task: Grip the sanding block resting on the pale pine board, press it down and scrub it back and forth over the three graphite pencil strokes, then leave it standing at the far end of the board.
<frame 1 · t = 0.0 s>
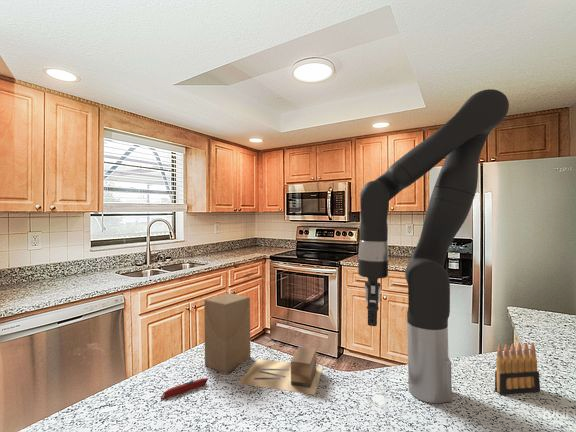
hand: (372, 319, 78), 17 cm above the worktop, tool pointing down, fingers open, 8 cm apart
pine board: (282, 380, 81), on the worktop
ammunition clip: (517, 392, 74), on the worktop
sanding block: (304, 377, 79), point 1 cm above the worktop, touching pine board
wooden block: (227, 364, 91), on the worktop
utility knife: (185, 392, 76), on the worktop
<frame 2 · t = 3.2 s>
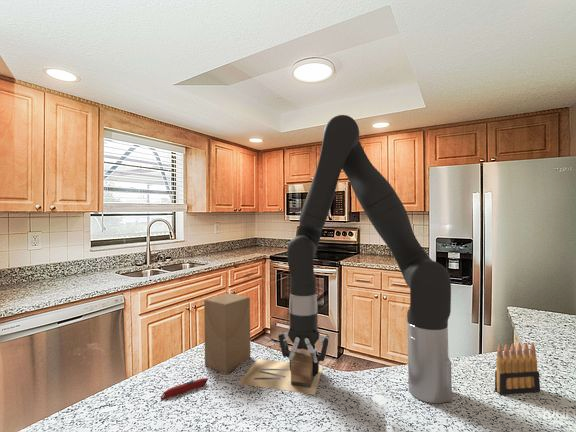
hand: (304, 373, 79), 3 cm above the worktop, tool pointing down, fingers closed on sanding block, 5 cm apart
sanding block: (304, 377, 79), point 2 cm above the worktop, touching gripper, pine board
everything else where it was.
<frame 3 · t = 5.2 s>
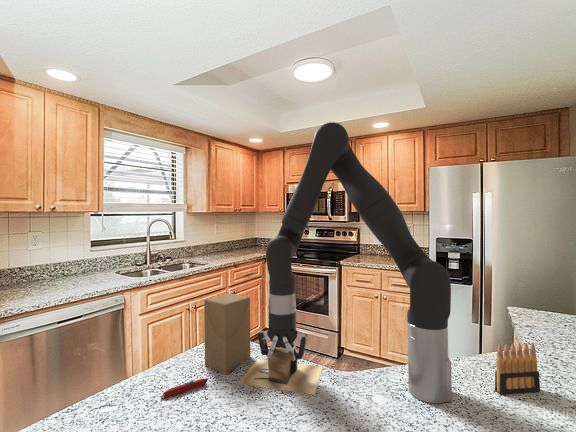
hand: (282, 371, 81), 2 cm above the worktop, tool pointing down, fingers closed on sanding block, 5 cm apart
sanding block: (282, 373, 81), point 2 cm above the worktop, touching gripper
everything else where it was.
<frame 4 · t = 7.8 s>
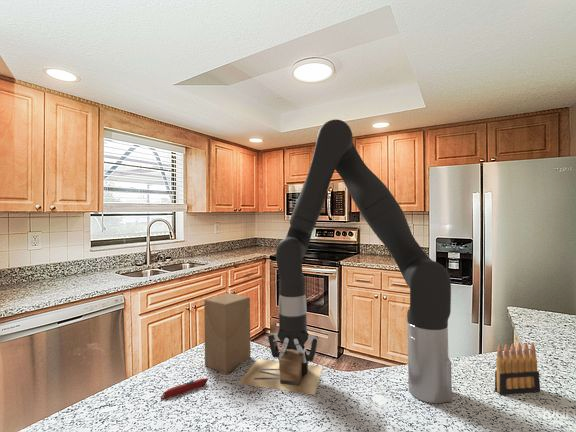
hand: (293, 373, 80), 2 cm above the worktop, tool pointing down, fingers closed on sanding block, 5 cm apart
sanding block: (293, 375, 80), point 2 cm above the worktop, touching gripper
everything else where it was.
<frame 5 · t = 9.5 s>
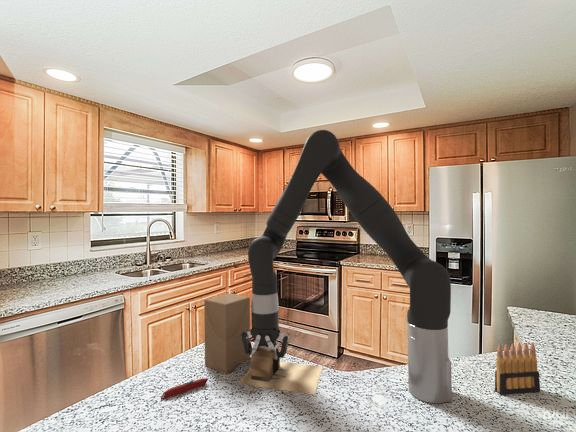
hand: (265, 369, 82), 2 cm above the worktop, tool pointing down, fingers closed on sanding block, 5 cm apart
sanding block: (265, 371, 82), point 2 cm above the worktop, touching gripper
everything else where it was.
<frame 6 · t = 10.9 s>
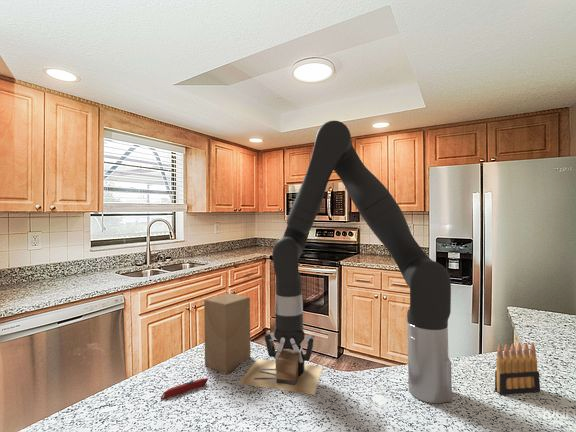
hand: (290, 373, 80), 2 cm above the worktop, tool pointing down, fingers closed on sanding block, 5 cm apart
sanding block: (290, 374, 80), point 2 cm above the worktop, touching gripper
everything else where it was.
when the fingers open (3 cm above the worktop, at t = 12.9 s): sanding block stays where it is, resting on pine board.
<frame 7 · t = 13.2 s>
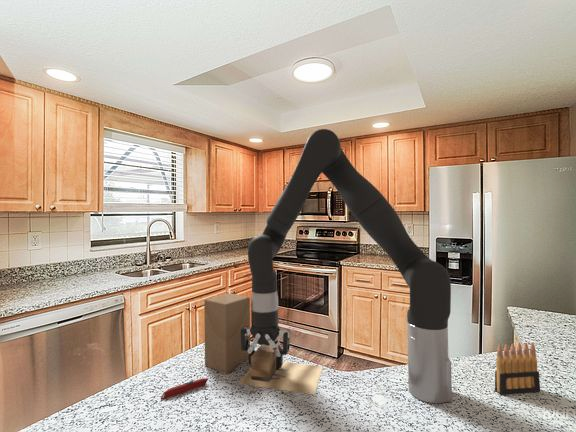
hand: (265, 366, 82), 3 cm above the worktop, tool pointing down, fingers open, 7 cm apart
sanding block: (265, 372, 82), point 2 cm above the worktop, touching pine board
everything else where it was.
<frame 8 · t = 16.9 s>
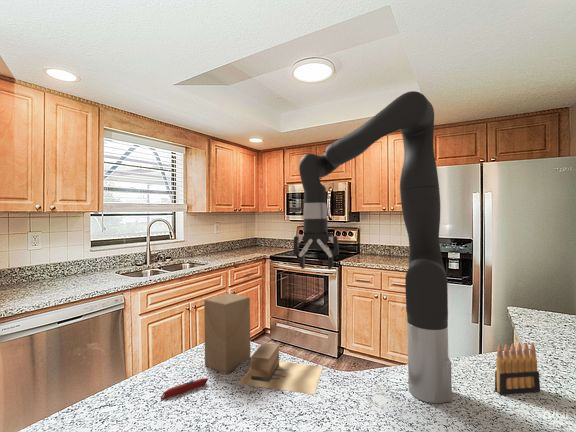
hand: (316, 268, 94), 28 cm above the worktop, tool pointing down, fingers open, 8 cm apart
nothing on the worktop moved.
at the end: sanding block inside the target area (0.1 cm from its centre), point 1.5 cm above the worktop; sanding block tilted 0°; the gripper is holding nothing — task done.
